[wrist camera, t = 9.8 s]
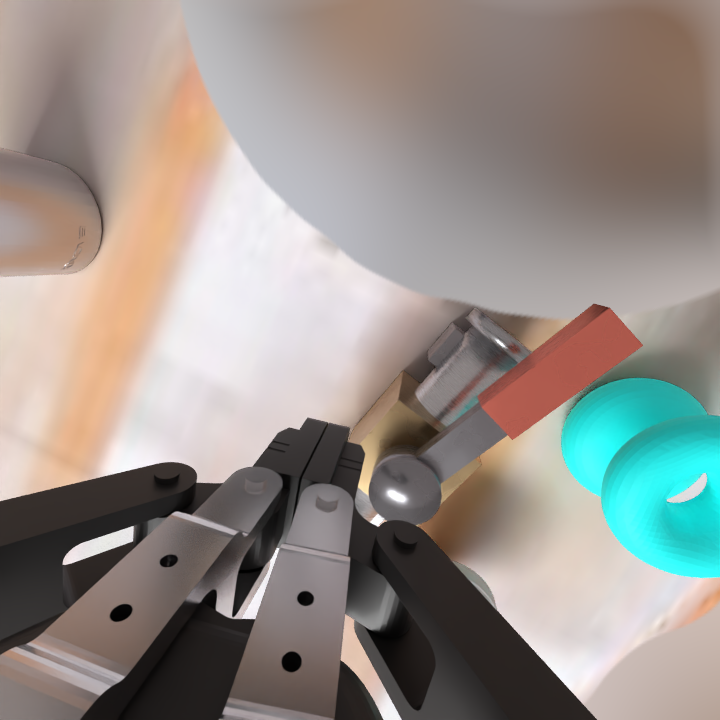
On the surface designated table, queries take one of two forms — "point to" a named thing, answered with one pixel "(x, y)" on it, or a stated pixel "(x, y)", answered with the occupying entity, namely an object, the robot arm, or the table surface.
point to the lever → (500, 413)
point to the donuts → (650, 470)
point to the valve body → (435, 398)
